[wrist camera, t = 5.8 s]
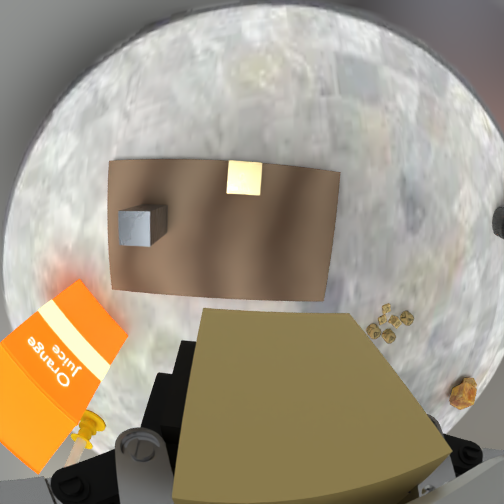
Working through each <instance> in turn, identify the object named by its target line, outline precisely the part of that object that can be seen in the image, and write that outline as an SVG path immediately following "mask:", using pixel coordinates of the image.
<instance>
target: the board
mask: <svg viewBox="0 0 504 504" xmlns="http://www.w3.org/2000/svg"><path fill="white" fill-rule="evenodd" d="M228 167H229V161H223V160H197V159H140V160H114V161H109V171H108V246H109V262H110V274H111V285H112V289H113V290H123V291H132V292H143V293H154V294H166V295H178V296H192V297H207V298H225V299H246V300H273V301H324V296H325V290H326V284H327V278H328V272H329V266H330V259H331V252H332V245H333V237H334V230H335V221H336V213H337V203H338V193H339V182H340V172H334V171H327V170H320V169H313V168H305V167H296V166H287V165H277V164H267V163H262V174H261V187H260V195H248V194H232V193H227V181H228ZM141 204H153V205H168V223H167V234H165V235H164V236H163V237H162V238H160V239H159V240H158V241H157V242H155V243H154V244H153V245H152V246H150V247H145V246H127V245H119V231H118V211H120V210H123V209H127V208H130V207H134V206H137V205H141Z"/></svg>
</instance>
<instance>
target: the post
mask: <svg viewBox="0 0 504 504" xmlns="http://www.w3.org/2000/svg"><path fill="white" fill-rule="evenodd" d="M167 223H168V205H153V204H141V205H137V206H134V207H130V208H127V209H123V210H120V211H118V231H119V245H127V246H145V247H150V246H152V245H153V244H154V243H155V242H157V241H158V240H159V239H160V238H162V237H163V236H164V235H165V234H167Z"/></svg>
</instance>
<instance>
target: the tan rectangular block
mask: <svg viewBox="0 0 504 504" xmlns="http://www.w3.org/2000/svg"><path fill="white" fill-rule="evenodd" d="M451 452H452V450H451V448H450V447H449V445H448V444H447V442H446V441H445V439H444V438H443V436H442V435H441V434H440V432H439V431H438V429H437V428H436V427H435V425H434V424H433V422H432V421H431V419H430V418H429V417H428V415H427V414H426V413H425V411H424V410H423V408H422V407H421V406H420V404H419V403H418V402H417V400H416V399H415V397H414V396H413V395H412V393H411V392H410V391H409V389H408V388H407V387H406V385H405V384H404V383H403V381H402V380H401V379H400V377H399V376H398V375H397V373H396V372H395V371H394V370H393V368H392V367H391V366H390V364H389V363H388V362H387V360H386V359H385V358H384V357H383V355H382V354H381V353H380V351H379V350H378V349H377V348H376V346H375V345H374V344H373V342H372V341H371V340H370V339H369V337H368V336H367V335H366V334H365V332H364V331H363V330H362V329H361V327H360V326H359V325H358V324H357V322H356V321H355V320H354V319H353V317H352V316H351V315H350V314H349V313H286V312H260V311H241V310H225V309H211V308H203V312H202V317H201V321H200V326H199V331H198V337H197V342H196V347H195V352H194V357H193V363H192V368H191V374H190V379H189V385H188V391H187V396H186V402H185V408H184V414H183V420H182V427H181V433H180V440H179V447H178V454H177V461H176V468H175V475H174V483H173V491H172V500H173V502H174V504H397V503H398V502H399V501H401V500H402V499H403V498H404V497H406V496H407V495H408V494H409V493H408V492H409V491H410V490H411V489H413V488H414V487H415V486H416V485H417V484H419V483H421V482H423V481H424V480H425V479H426V478H427V477H428V476H429V475H430V474H431V473H432V472H433V471H434V470H435V469H436V468H437V467H438V466H439V465H440V464H441V463H442V462H443V461H444V460H445V459H446V458H447V457H448V456H449V455H450V453H451Z"/></svg>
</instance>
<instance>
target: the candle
mask: <svg viewBox="0 0 504 504" xmlns="http://www.w3.org/2000/svg"><path fill="white" fill-rule="evenodd" d="M80 421H81V422H80V423H79V427H80V430H79V432H78V434H71V438H72V439H73V440H74V441H75V443H74V446H73V448H72V450H71V452H70V454H69V457H68V459H67V461H66V463H65V466H64V467H67V466H70V465H73V464H76V463H78V461H79V459H80V457H81V455H82V452H83V450H84V448H87V449H92V448H93V446H92V444H91V443H90V442H89V440H90V439H91V436H92V435H96V431H103V430H104V429H105V426H106V425H105V423H104V421H103V420H102V419H101V418H100V417H99V416H98V415H96V414H95V413H93V412H91V411H89V410H85V412H84V413H83V415H82V417H81V419H80Z"/></svg>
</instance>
